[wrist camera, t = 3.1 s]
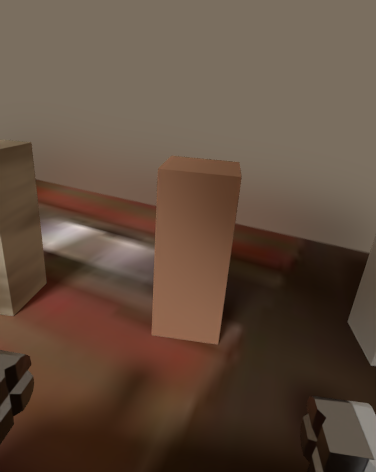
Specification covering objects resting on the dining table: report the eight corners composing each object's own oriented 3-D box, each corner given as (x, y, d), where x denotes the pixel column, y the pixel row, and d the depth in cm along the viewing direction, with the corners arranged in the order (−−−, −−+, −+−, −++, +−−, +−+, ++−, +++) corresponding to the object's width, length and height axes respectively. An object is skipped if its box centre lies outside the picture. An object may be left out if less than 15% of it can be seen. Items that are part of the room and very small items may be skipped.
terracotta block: (151, 335, 22) (157, 168, 17) (163, 298, 26) (171, 155, 21) (218, 344, 21) (241, 177, 17) (219, 305, 25) (239, 162, 21)
